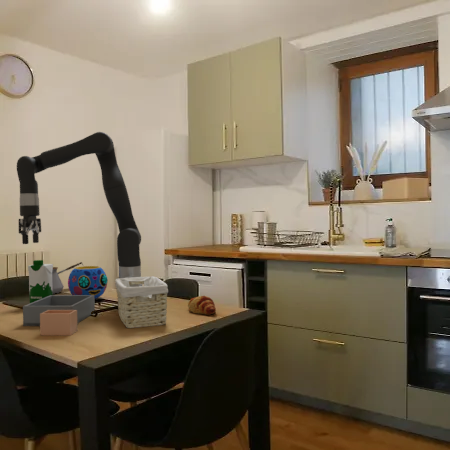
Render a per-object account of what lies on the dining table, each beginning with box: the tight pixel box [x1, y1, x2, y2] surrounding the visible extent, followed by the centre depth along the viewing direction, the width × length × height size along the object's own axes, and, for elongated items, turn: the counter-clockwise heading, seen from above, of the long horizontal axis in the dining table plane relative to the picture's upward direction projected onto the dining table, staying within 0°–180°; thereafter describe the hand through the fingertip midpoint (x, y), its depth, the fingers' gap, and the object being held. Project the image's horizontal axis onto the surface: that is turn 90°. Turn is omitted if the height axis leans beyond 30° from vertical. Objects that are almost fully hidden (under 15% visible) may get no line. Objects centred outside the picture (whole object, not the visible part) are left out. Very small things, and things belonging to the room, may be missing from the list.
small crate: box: [39, 310, 78, 336], centre depth 149 cm, size 10×6×7 cm, turn 87°
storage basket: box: [114, 275, 169, 329], centre depth 166 cm, size 24×16×15 cm
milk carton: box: [27, 259, 54, 304], centre depth 195 cm, size 9×9×20 cm
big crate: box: [22, 294, 96, 327], centre depth 170 cm, size 18×22×7 cm
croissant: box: [187, 295, 217, 316], centre depth 181 cm, size 21×10×8 cm, turn 30°
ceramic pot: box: [67, 265, 108, 300], centre depth 209 cm, size 18×18×15 cm
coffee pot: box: [52, 261, 84, 295], centre depth 230 cm, size 21×12×15 cm, turn 113°
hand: (30, 243), depth 189 cm, fingers open, 8 cm apart
